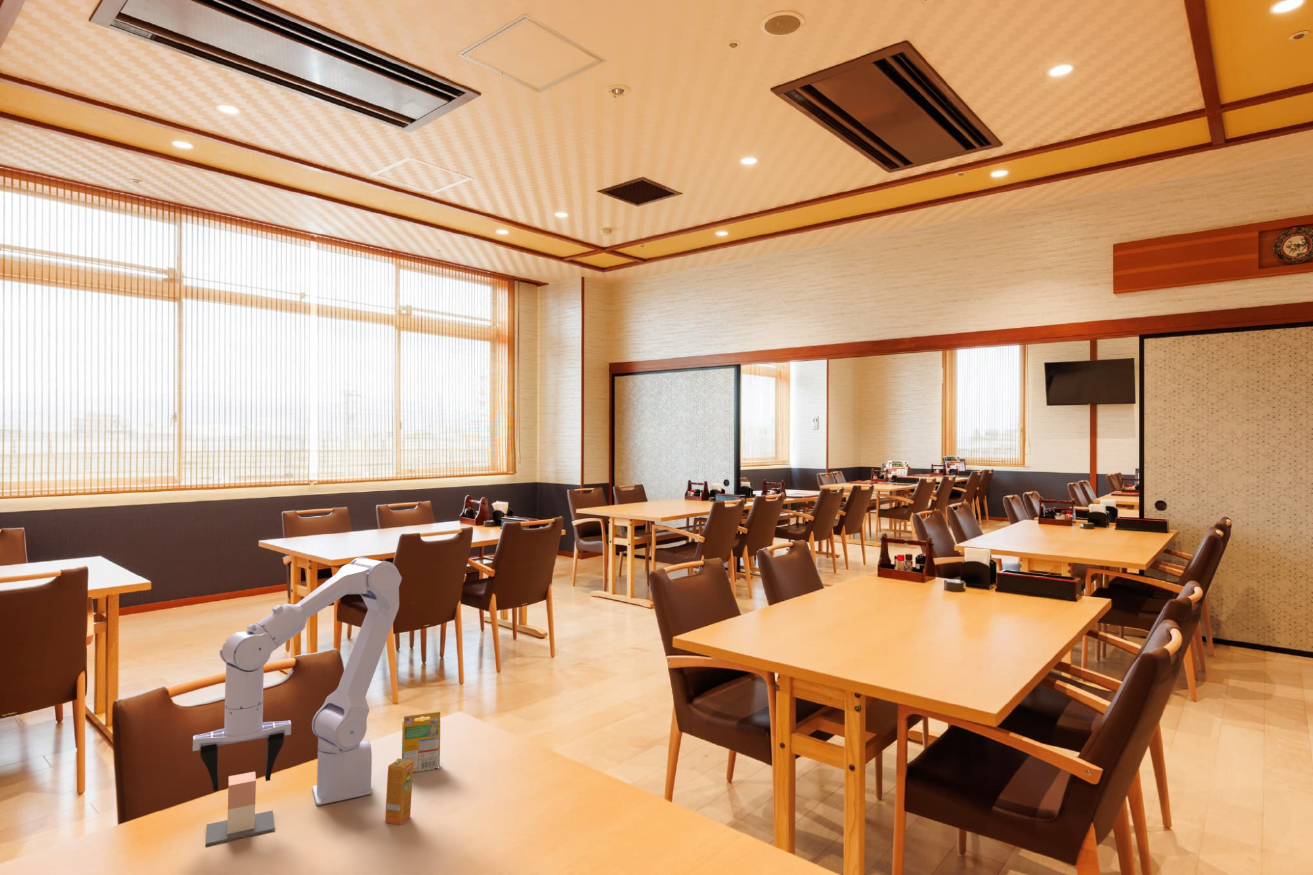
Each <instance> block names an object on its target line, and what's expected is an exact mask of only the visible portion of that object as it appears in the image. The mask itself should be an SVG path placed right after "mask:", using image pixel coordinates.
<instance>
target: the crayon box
mask: <svg viewBox="0 0 1313 875" xmlns="http://www.w3.org/2000/svg"><path fill="white" fill-rule="evenodd" d="M421 717H424V718H421ZM426 717H427V718H426ZM420 718H421V719H420ZM401 726H402V728H401V732H402V733H401V734H402V735H401V759H406V760H411V761H413V772H414V773H418V772H417V771H420V772H425V770H426V771H430V770H429V769H433V770H435V769H434V768H438V767H440V768H441V711H436V712H429V713H428V712H427V713H422V714H421V713H420V714H413V715H407V716H403V721H402V725H401Z"/></svg>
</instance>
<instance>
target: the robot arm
mask: <svg viewBox="0 0 1313 875" xmlns="http://www.w3.org/2000/svg"><path fill="white" fill-rule="evenodd" d="M402 580H403V577H402V576H401V574H400V572H399V569H398V568H397V566H396V565H395V564H394V563H392V562H390V561H385V560H384V561H382V560H376V559H370V558H368V557H365V556H360V557H357V558H354V559H353V560H351V561H350V563H347V564H345V565H343V566H341V568H340V569H338V571H337V572H336V573H335V574H334V575H333V576H332V577H330V578H328V579H327V580H326V581H325V582H323V583H322V584H321V585H319V586H318V587H316V588H315V589H314V590H313V591H311V592H310V593H309V594H307V595H306V596H305V597H304V598H302V599H301V600H299V601H298V602H297V603H295V604H291V603H284V604H283V605H279V604H277V605H275V606H274V607H272V609H271V610H272V611H271V612H270V613H269V614H268V615H267V616H264V617H263V618H262V619H260V620H259V621H257V622H256V623H255V624H254V623H250V624H249V625H247V627H246V628H247V629H246V631H243V630H242V631H238V632H234V633H233V634H231V635H230V636H228V638H227V639H226V640H225V643H223V646H222V648H221V649H219V656H220V658H221V659H220V660H222V661H223V662H224V663H225V679H224V680H225V681H224V682H225V684H224V686H225V688H224V690H225V691H224V728H221V729H216V730H213V731H209V732H205V733H202V734H195V735H193V736H192V752H195V751H196V752H197V751H200V752H199V753H200V758H201V760H202V762H203V764H204V765H205V767H206V769H207V771H208V773H209V776H210V779H211V784H212V791H213V792H219V769H218V763H219V761H218V759H219V754H218V752H219V746H223V745H229V744H235V743H240V742H247V741H253V740H258V739H265V738H266V758H265V759H266V760H265V768H264V777H265V782H269V781H271V776H272V771H273V769H274V766H275V762H276V759H277V757H278V755H279V753H280V751H281V750H282V747H283V745H284V744H285V736H291V735H292V722H291V719H290V720H282V721H279V720H278V721H266V722H265V721H264V722H263V720H264V719H263V717H264V681H265V680H264V676H265V674H264V668H265V667H264V666H265V665H266V664H267V662H268V661H269V660H270V658H271V655H272V654H273V652H274V651H275V650H277V649H278V648H280V647H281V646H282V645H284V644H286V642H288V641H289V640H291V639H293V637H295V636H297V635H298V634H299V633H301V632H302V631H303V630H305V628H306V625H307V621H308V619H309V618H310V617H313V616H314V615H316V614H317V613H319V612H321V611H322V610H323V609H325V608H327V607H328V606H330V605H332V604H333V603H334V602H335V603H336V601H338V600H340V599H341V598H342V597H344V596H346V595H360V596H361V598H362V600H363V602H364V604H365V606H366V608H367V612H366V614H365V617H364V619H363V621H362V625H361V627H360V629H359V632H358V635H357V637H356V640H355V642H354V645H353V648H352V649H351V652H350V655H349V658H348V659H347V662H346V664H345V667H344V671H343V673H342V675H341V677H340V679H339V680H340V681H339V684H338V686H337V688H336V689H335V690H334V691H333V692H331V693H330V694H328V696H326V698H325V699H324V700H325V701H324V702H323V704H322V706H321V707H320V708H319V709H318V710H317V711H316V713H315V714H314V716H313V718H312V722H311V729H312V732H313V734H314V735H315V736H316V737H317V767H316V768H317V769H316V772H317V773H316V774H317V775H316V777H317V778H316V785H313V786H312V791H313V792H312V793H313V797H314V800H315V804H316V805H317V806H322V805H326V804H330V803H334V802H336V803H337V802H340V801H344V800H348V799H353V798H357V797H363V796H367V795H371V794H372V765H373V764H372V763H373V762H372V760H373V759H372V758H373V756H372V754H373V753H372V752H373V751H372V744H371V740H370V739H364V738H365V736H366V733H367V730H368V729H367V728H368V726H367V721H368V720H367V719H368V717H369V716H368V715H369V713H370V708H369V705H368V701H367V698H366V696H367V693H368V691H369V688H370V686H371V683H372V680H373V677H374V674H375V672H376V669H377V667H378V664H379V661H380V659H381V658H382V657H381V656H382V653H383V651H384V649H385V646H386V643H387V641H388V638H389V636H390V632H391V629H392V627H393V625H394V622H395V619H396V616H397V614H398V611H399V608H400V589H399V587H400V585H401V582H402Z"/></svg>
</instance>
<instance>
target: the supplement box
mask: <svg viewBox="0 0 1313 875" xmlns="http://www.w3.org/2000/svg"><path fill="white" fill-rule="evenodd" d="M413 775H414V773H413V761H411V760H406V759H402V758H397V759H396V760H394V762H392V763H390V764H389V765H388V766H387V778H386V779H387V782H386V794H385V796H386V798H385V799H386V800H385V814H384V815H385V816H384V817H385V820H384V822H385V823H386V824H391V825H399V826H400V825H402V824H404V823H405V822H406V821H407V820H408V819H409V818H410V817H411V809H412V793H413V792H412V791H413Z"/></svg>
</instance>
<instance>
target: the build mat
mask: <svg viewBox="0 0 1313 875" xmlns="http://www.w3.org/2000/svg"><path fill="white" fill-rule="evenodd" d="M227 820H228V819H226V820H221V821H216V822H213V823H207V824H206V830H205V831H206V832H205V847H208V846H212V845H216V844H221V843H225V842H230V841H234V840H239V839H243V838H247V837H253V836H256V835H261V834H266V833H269V832H270V833H271V832H275V830H276V828H275V818H274V811H273V810H269V811H264V812H259V813H255V828H253V829H249V830H244V831H240V832H235V833H230V834H227Z"/></svg>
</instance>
